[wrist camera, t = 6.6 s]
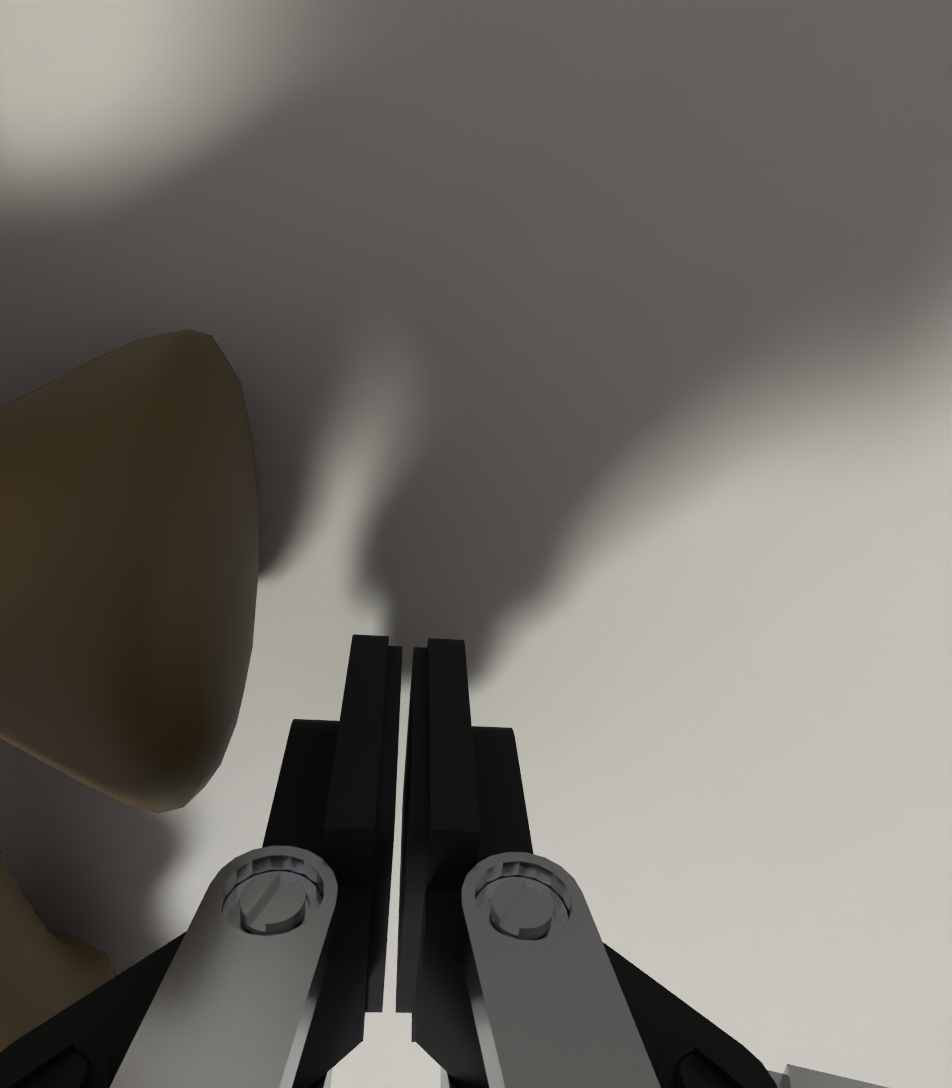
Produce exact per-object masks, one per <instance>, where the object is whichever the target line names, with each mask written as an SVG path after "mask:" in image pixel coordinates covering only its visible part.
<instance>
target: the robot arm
mask: <svg viewBox="0 0 952 1088" xmlns="http://www.w3.org/2000/svg"><path fill="white" fill-rule="evenodd" d="M388 644H389V636H372V635H353V637H352V643H351V650H350V656H349V663H348V670H347V676H346V683H345V690H344V696H343V703H342V709H341V716H340V721H328V720H303V719H294V720H293V721H292V724H291V728H290V732H289V736H288V740H287V745H286V749H285V753H284V757H283V761H282V766H281V770H280V774H279V778H278V783H277V787H276V791H275V795H274V800H273V804H272V808H271V812H270V816H269V821H268V825H267V829H266V833H265V838H264V842H263V846H262V848H259V849H254V850H251V851H249V852H247V853H245V854H243V855H240V856H238V857H236V858H235V859H233V860H232V861H231V862H229V863H228V864H227V865H226V866H224V867H223V868H222V869H221V870H220V871H219V872H218V874H217V875H216V877H215V878H214V879H213V881H212V882H211V884H210V885H209V887H208V889H207V891H206V893H205V895H204V897H203V899H202V901H201V904H200V906H199V908H198V910H197V912H196V914H195V916H194V918H193V920H192V922H191V924H190V926H189V928H188V930H187V931H186V932H185V933H183V934H182V935H180V936H178V937H177V938H175V939H174V940H172V941H171V942H169V943H167V944H166V945H164V946H163V947H161V948H160V949H158V950H157V951H155V952H153V953H152V954H150V955H149V956H147V957H146V958H144V959H142V960H141V961H139V962H138V963H136V964H135V965H133V966H131V967H130V968H128V969H127V970H125V971H124V972H122V973H121V974H119V975H117V976H116V977H114V978H113V979H111V980H110V981H108V982H106V983H105V984H103V985H102V986H100V987H99V988H97V989H95V990H94V991H92V992H91V993H89V994H88V995H86V996H85V997H83V998H81V999H80V1000H78V1001H77V1002H75V1003H74V1004H72V1005H70V1006H69V1007H67V1008H66V1009H64V1010H63V1011H61V1012H59V1013H58V1014H56V1015H55V1016H53V1017H52V1018H50V1019H49V1020H47V1021H45V1022H44V1023H42V1024H41V1025H39V1026H38V1027H36V1028H34V1029H33V1030H31V1031H30V1032H28V1033H27V1034H25V1035H23V1036H22V1037H20V1038H19V1039H17V1040H16V1041H14V1042H13V1043H12V1044H10V1045H9V1046H8V1047H6V1048H5V1049H4V1050H3V1051H1V1052H0V1088H330V1086H331V1075H332V1067H334V1066H335V1065H336V1064H337V1063H338V1062H339V1061H340V1060H341V1059H343V1058H344V1057H345V1056H346V1055H347V1054H348V1053H349V1052H350V1051H352V1050H353V1049H354V1048H355V1047H356V1046H357V1045H358V1044H359V1043H361V1042H362V1041H363V1033H364V1018H365V1012H382V1006H383V991H384V977H385V962H386V947H387V932H388V917H389V902H390V887H391V873H392V858H393V842H394V825H395V804H396V782H397V759H398V737H399V714H400V692H401V669H402V646H388ZM396 1012H401V1013H412V1042H417V1043H418V1044H419V1045H420V1046H421V1047H422V1048H423V1049H424V1050H425V1051H426V1052H427V1053H428V1054H429V1055H430V1056H431V1057H432V1058H433V1059H434V1060H435V1061H436V1062H437V1063H438V1064H439V1065H440V1066H441V1088H888V1087H883V1086H879V1085H875V1084H871V1083H866V1082H862V1081H858V1080H853V1079H849V1078H845V1077H841V1076H836V1075H832V1074H828V1073H824V1072H819V1071H815V1070H811V1069H807V1068H802V1067H798V1066H794V1065H789V1064H787V1065H786V1068H785V1071H784V1073H783V1074H781V1073H777V1072H773V1071H769V1070H766V1068H765V1067H764V1065H763V1064H762V1063H761V1062H760V1061H759V1060H758V1059H757V1058H756V1057H755V1056H754V1055H753V1054H752V1053H751V1052H750V1051H748V1050H747V1049H746V1048H745V1047H744V1046H743V1045H742V1044H740V1043H739V1042H737V1041H736V1040H735V1039H733V1038H732V1037H731V1036H729V1035H728V1034H727V1033H725V1032H724V1031H723V1030H721V1029H720V1028H719V1027H717V1026H716V1025H714V1024H713V1023H712V1022H710V1021H709V1020H708V1019H706V1018H705V1017H704V1016H702V1015H701V1014H700V1013H698V1012H697V1011H695V1010H694V1009H693V1008H691V1007H690V1006H689V1005H687V1004H686V1003H685V1002H683V1001H682V1000H681V999H679V998H678V997H677V996H675V995H674V994H672V993H671V992H670V991H668V990H667V989H666V988H664V987H663V986H662V985H660V984H659V983H658V982H656V981H655V980H653V979H652V978H651V977H649V976H648V975H647V974H645V973H644V972H643V971H641V970H640V969H639V968H637V967H636V966H634V965H633V964H632V963H630V962H629V961H628V960H626V959H625V958H624V957H622V956H621V955H620V954H618V953H617V952H616V951H614V950H613V949H611V948H610V947H609V946H607V945H606V944H605V943H603V942H602V940H601V937H600V935H599V932H598V930H597V927H596V925H595V922H594V920H593V917H592V915H591V912H590V910H589V907H588V905H587V903H586V900H585V898H584V895H583V893H582V891H581V889H580V888H579V886H578V884H577V883H576V881H575V879H574V878H573V877H572V876H571V875H570V874H569V873H568V872H567V871H565V870H564V869H563V868H562V867H561V866H560V865H558V864H556V863H554V862H552V861H550V860H548V859H547V858H545V857H541V856H538V855H534V854H533V849H532V843H531V837H530V830H529V824H528V818H527V811H526V805H525V799H524V792H523V786H522V780H521V773H520V767H519V761H518V755H517V748H516V742H515V736H514V732H513V730H512V728H501V727H477V726H471V715H470V703H469V691H468V679H467V668H466V656H465V644H464V640H453V639H433V638H428V644H427V648H423V647H414V649H413V662H412V676H411V690H410V704H409V718H408V732H407V746H406V760H405V774H404V789H403V807H402V835H401V866H400V896H399V926H398V956H397V986H396Z"/></svg>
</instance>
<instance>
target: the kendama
mask: <svg viewBox="0 0 952 1088" xmlns="http://www.w3.org/2000/svg"><path fill="white" fill-rule="evenodd" d="M258 570H259V498H258V488H257V478H256V468H255V458H254V448H253V442H252V437H251V432H250V427H249V422H248V417H247V412H246V407H245V402H244V398H243V393H242V388H241V383H240V380H239V379H238V377H237V375H236V374H235V372H234V370H233V369H232V367H231V365H230V363H229V362H228V360H227V359H226V357H225V355H224V354H223V352H222V351H221V349H220V348H219V346H218V344H217V343H216V341H215V340H214V338H213V337H212V335H208V334H204V333H201V332H197V331H193V330H189V329H188V330H183V331H178V332H172V333H167V334H162V335H158V336H154V337H151V338H147V339H143V340H139V341H135V342H131V343H129V344H126V345H124V346H122V347H120V348H118V349H116V350H113V351H111V352H109V353H107V354H105V355H103V356H100V357H98V358H96V359H94V360H92V361H90V362H88V363H86V364H84V365H82V366H80V367H78V368H77V369H75V370H73V371H71V372H69V373H67V374H65V375H63V376H61V377H60V378H58V379H56V380H54V381H52V382H50V383H48V384H46V385H45V386H43V387H41V388H39V389H37V390H35V391H33V392H31V393H29V394H27V395H25V396H23V397H21V398H19V399H17V400H15V401H13V402H11V403H9V404H7V405H5V406H3V407H2V408H0V739H2V740H4V741H6V742H8V743H9V744H11V745H13V746H15V747H17V748H19V749H21V750H22V751H24V752H26V753H28V754H30V755H32V756H34V757H35V758H37V759H39V760H41V761H43V762H45V763H46V764H48V765H50V766H52V767H54V768H55V769H57V770H59V771H61V772H63V773H64V774H66V775H68V776H70V777H72V778H73V779H75V780H77V781H79V782H81V783H82V784H84V785H86V786H88V787H90V788H92V789H94V790H97V791H99V792H101V793H103V794H105V795H107V796H109V797H111V798H113V799H115V800H117V801H119V802H121V803H123V804H126V805H129V806H133V807H136V808H140V809H144V810H147V811H151V812H154V813H162V812H166V811H170V810H174V809H178V808H181V807H184V806H185V805H186V804H187V803H188V802H189V801H190V800H191V799H193V798H194V797H195V796H196V795H197V794H198V793H199V792H200V791H201V790H202V789H203V788H204V787H205V786H206V784H207V783H208V781H209V780H210V779H211V777H212V776H213V774H214V773H215V772H216V770H217V769H218V767H219V766H220V765H221V762H222V759H223V757H224V754H225V752H226V749H227V747H228V744H229V741H230V739H231V736H232V734H233V731H234V729H235V726H236V723H237V718H238V714H239V710H240V706H241V701H242V697H243V693H244V688H245V683H246V678H247V672H248V667H249V662H250V657H251V651H252V646H253V633H254V621H255V608H256V595H257V583H258ZM114 977H116V976H115V974H114V972H113V969H112V967H111V965H110V962H109V960H108V958H107V955H106V954H104V953H103V952H101V951H99V950H97V949H95V948H93V947H92V946H90V945H88V944H86V943H84V942H82V941H80V940H79V939H77V938H75V937H73V936H71V935H69V934H62V933H54V932H49V931H48V930H47V929H46V927H45V926H44V924H43V923H42V922H41V920H40V919H39V917H38V916H37V915H36V913H35V912H34V910H33V908H32V907H31V905H30V903H29V902H28V900H27V898H26V896H25V895H24V893H23V891H22V890H21V888H20V886H19V885H18V883H17V881H16V879H15V877H14V875H13V873H12V871H11V869H10V867H9V865H8V864H7V862H6V860H5V858H4V856H3V854H2V852H1V850H0V1052H1V1051H3V1050H4V1049H5V1048H6V1047H8V1046H9V1045H10V1044H12V1043H13V1042H14V1041H16V1040H17V1039H19V1038H20V1037H22V1036H23V1035H25V1034H27V1033H28V1032H30V1031H31V1030H33V1029H34V1028H36V1027H38V1026H39V1025H41V1024H42V1023H44V1022H45V1021H47V1020H49V1019H50V1018H52V1017H53V1016H55V1015H56V1014H58V1013H59V1012H61V1011H63V1010H64V1009H66V1008H67V1007H69V1006H70V1005H72V1004H74V1003H75V1002H77V1001H78V1000H80V999H81V998H83V997H85V996H86V995H88V994H89V993H91V992H92V991H94V990H95V989H97V988H99V987H100V986H102V985H103V984H105V983H106V982H108V981H110V980H111V979H113V978H114Z"/></svg>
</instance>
